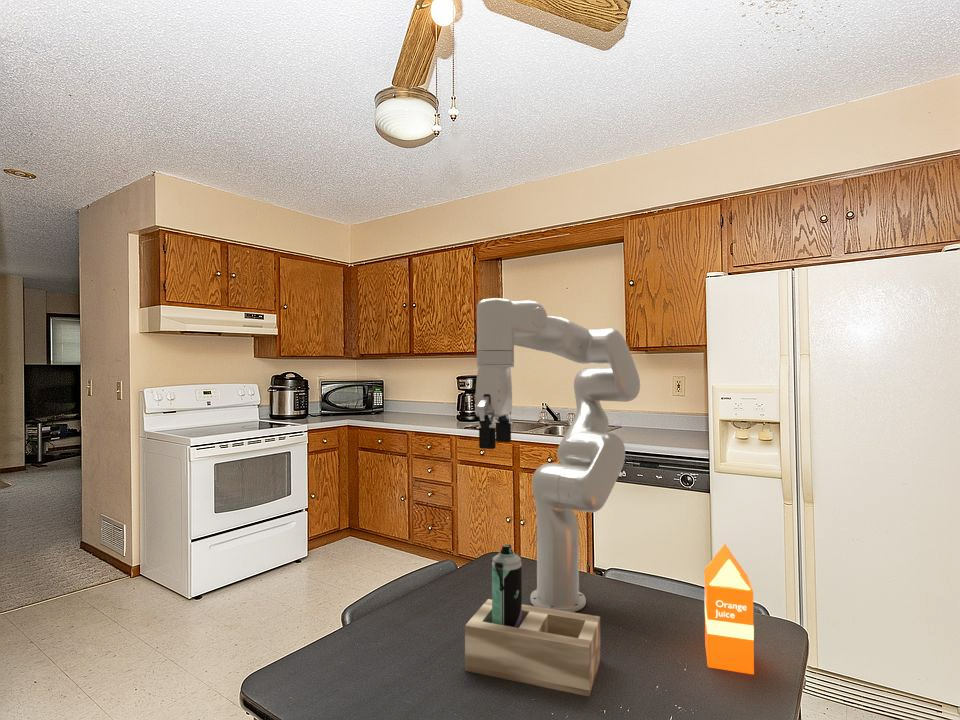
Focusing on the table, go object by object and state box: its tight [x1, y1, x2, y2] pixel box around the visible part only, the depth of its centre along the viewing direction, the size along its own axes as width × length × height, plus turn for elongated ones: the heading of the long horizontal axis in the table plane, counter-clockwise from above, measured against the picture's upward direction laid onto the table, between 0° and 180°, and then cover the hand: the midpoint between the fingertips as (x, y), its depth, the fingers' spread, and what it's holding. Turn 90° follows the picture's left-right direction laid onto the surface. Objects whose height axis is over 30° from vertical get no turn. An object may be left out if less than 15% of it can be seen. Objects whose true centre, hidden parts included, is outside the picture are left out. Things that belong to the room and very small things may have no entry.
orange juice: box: [703, 542, 755, 675], centre depth 103 cm, size 8×9×20 cm
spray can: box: [491, 544, 523, 628], centre depth 103 cm, size 6×6×20 cm
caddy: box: [464, 598, 601, 697], centre depth 101 cm, size 12×22×8 cm, turn 69°
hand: (495, 445), depth 112 cm, fingers open, 9 cm apart
